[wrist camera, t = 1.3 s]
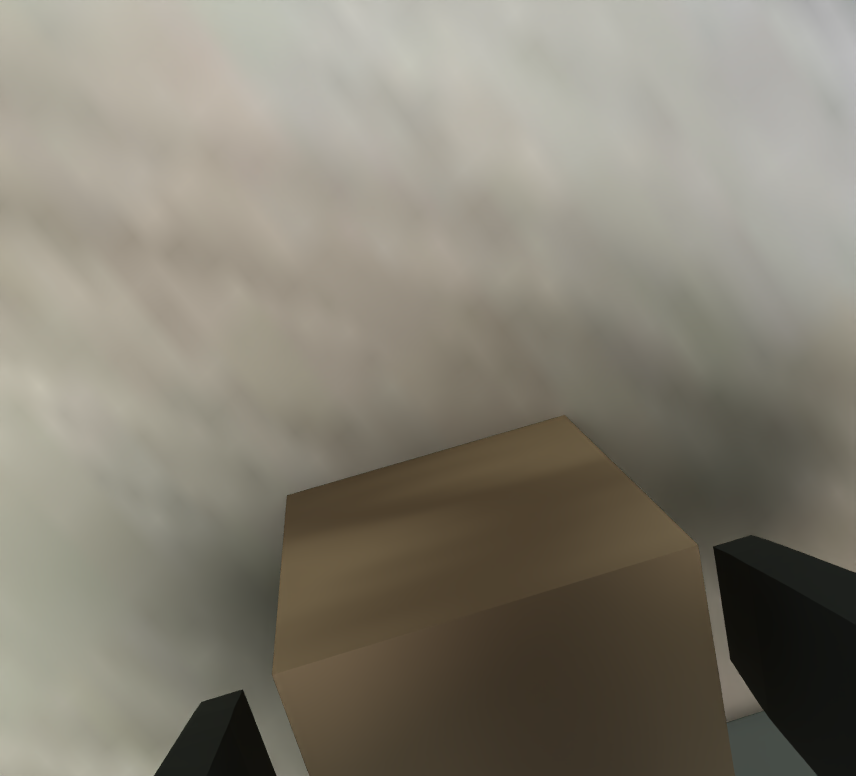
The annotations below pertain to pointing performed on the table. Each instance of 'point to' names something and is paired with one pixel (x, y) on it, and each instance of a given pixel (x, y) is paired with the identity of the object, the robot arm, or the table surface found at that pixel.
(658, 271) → the table surface
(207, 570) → the table surface
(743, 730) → the tower base
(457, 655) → the walnut cube
